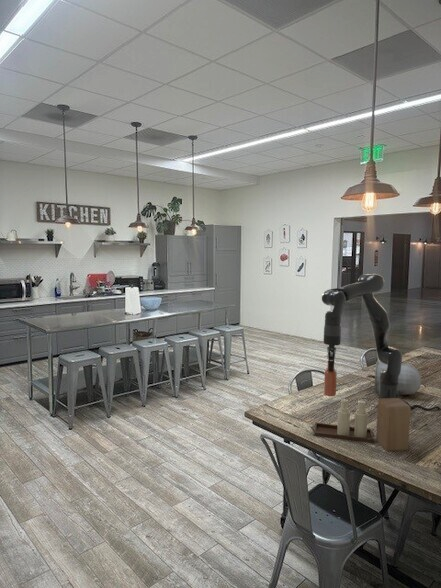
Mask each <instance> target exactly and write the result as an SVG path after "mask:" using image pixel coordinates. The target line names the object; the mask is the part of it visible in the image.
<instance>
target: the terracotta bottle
mask: <svg viewBox="0 0 441 588" xmlns="http://www.w3.org/2000/svg"><path fill="white" fill-rule="evenodd" d="M328 361H329V360H328V359H327V362H328ZM330 361H333V360H330ZM328 366H329V364H328V363H327V367H326V369H324V374H323V375H324V379H323V380H324V381H323V395H324V396H327V397H335V396H337V377H338V374H337V373H338V372H337V370H336V368H335V366H334V367H333V372H329V371H328Z"/></svg>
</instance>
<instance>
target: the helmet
mask: <svg viewBox="0 0 441 588" xmlns="http://www.w3.org/2000/svg"><path fill="white" fill-rule="evenodd" d="M387 366H388V365H387V364H385V363H382V362H381V361H380V360H377V361H376V363H375V369H374V374H373V375H372V374H368V375H366V377H365V379H366V380H367V381H368V382H371V383H373V384H374V394H376V395H379V384H380V372H381V371H382V370H387ZM371 379H373V380H374V381H373V380H371ZM421 385H422V376H421V372H420V371H419V370H418V369H417V368H416V367H415V366H414V365H413V364H409V363H402V365H401V372H400V375H399V382H398V394H399V395H404V396H406V395H413V394H415V393H417V392H418V391H419V390H420V388H421Z"/></svg>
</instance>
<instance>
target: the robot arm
mask: <svg viewBox="0 0 441 588" xmlns="http://www.w3.org/2000/svg"><path fill="white" fill-rule="evenodd" d="M357 280H358V281H357V282H355V283H350V284H346V285H344V286H341V287H336V288H329V289H326V290H325V291H324V292H323V293H322V295H321V302H322V303H323V304H324V305H325V306H330V307H333V309H332V310H327V311H326V312H325V314H324V327H323V344H324V345H327V347H326V351H327V367H328V371H329V372H333V367H334V368H335V360H336V353H337V347H335V346H340V345H341V340H342V339H341V338H342V327H341V324H342V323H341V322H342V314H343V310H344V308H345V305H346V302H349V301H351V300H354V299H356V298H358V297H362V300H363V303H364V305H365V308H366V312H367V316H368V320H369V323H370V327H371V331H372V334H373V338H374V343H375V349H376V356H377V359H378V361H379V362H382V363H385V364H387V365H388V366H387V370H382V371H381V372H380V384H379V394H378V399H381V398H399V399H401V400H402V398H401V396H399V395H400V393H399V392H398V382H399V375H400V372H401V365H402V364H403V354H402V351H401V350H400V349H397V348H394V347H391V346H390V345H389V342H388V334H389V331H390V328H391V321H390V318H389V314H388V312H387V310H386V309H385V308H384V307H383V306H382V305H381V304H380V303H379V302H378V301H377V299H376V298H375V296H374V293H379V292H381V291H382V290H383V289H384V287H385V280H384V277H383V276H382V275H381V274H379V273H377V274H376V273H371V274H370V273H367V274H366V273H365V274H361V275H360V276H358V279H357ZM328 360H329V361H328ZM330 360H333V361H330ZM328 364H329V366H328ZM403 401H404V402H405V403H406V404H408V405H409V406H410V408H411V409H414V408H416V407H418V408H420V409H422V410H424V411H433V410H436V409H438V410H441V407H440V406H437V405H435V406H433V407H431V408H427V407H424V406H422V405H420V404H413V405H412V406H411V405H410V404H411V403H409V402H407V401H405V400H403Z"/></svg>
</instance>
